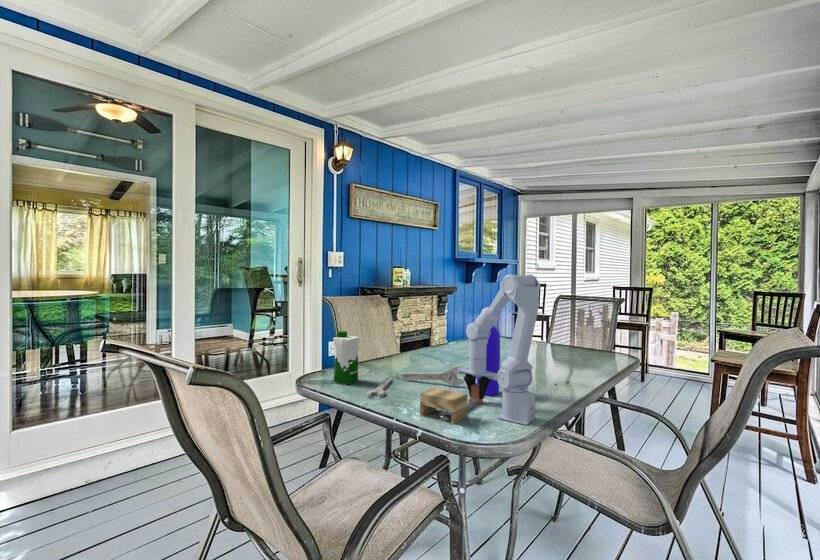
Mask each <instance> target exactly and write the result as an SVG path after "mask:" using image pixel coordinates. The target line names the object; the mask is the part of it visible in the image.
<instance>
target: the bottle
mask: <svg viewBox="0 0 820 560" xmlns="http://www.w3.org/2000/svg"><path fill="white" fill-rule="evenodd" d="M490 332H491V333H490V337H489V338H488V343H487V345H486V371H490V372H493V373H498V371H499V370H500V368H501V335H500V332H499V330H498V329H497V328H496V325H494V326H493V327H492V328H491V329H490ZM480 378H481V377H476V383H479V382H478V379H480ZM499 392H500V386H499V384H498V381H497V380H493V379H491V381H490V382H489V384H488V386H487V389H486V392H485V395H484V397H494V396H498V395H499Z"/></svg>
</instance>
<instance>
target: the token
mask: <svg viewBox="0 0 820 560" xmlns="http://www.w3.org/2000/svg"><path fill="white" fill-rule="evenodd" d="M438 420H439V421H441V422H444V423H447V422H448V423H451V412H450V411H442V412H440V413H439V414H438Z"/></svg>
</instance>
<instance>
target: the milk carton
mask: <svg viewBox="0 0 820 560" xmlns="http://www.w3.org/2000/svg"><path fill="white" fill-rule="evenodd" d="M360 338H361V337H360V336H355V335H348V331H346V330H340V331H339V330H338V331H337V332H336V336H335V337H333V338H332V340H333V344H334V373H333V383H334V382H337V383H336V384H340V383H344V384H343V385H347V384H349V385H351V384H350V383H352V384H353V382H354V383H356V382H358V381H359V343H360ZM357 380H358V381H357ZM355 381H356V382H355Z"/></svg>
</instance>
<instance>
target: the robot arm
mask: <svg viewBox="0 0 820 560" xmlns="http://www.w3.org/2000/svg"><path fill="white" fill-rule="evenodd" d="M499 288H500V289H499V290H498V292H497V294H496V295H495V297H494V299H493V300H492V303H491V304H490V305H489V306H486V307H484V308H482V309H481V312H480V314H478V317H477V318H476V319H475V320H474V321H473V322H470V323H468V324H467V326H466V329H465V334H466V337H467V339H468V340H469V350H468V351H469V356H468V357H469V359H468V360H469V361H468V362H469V363H468V367H467V368H466V367H463V368H458V371H457V375H465V376H464V377H463V381H464V383H465V384H466V386H467V389H468V393H469V397H470V398H471V385H472V384H474V383H476V382H477V377H481V378H480V379H478V382H479V390H480V391H479V398H480V399H483V400H484V399H485V396H484V395H485V392H486V389H487V386H488V384H489V382H490V381H491V379H493V380H497V381H498V384H499V388H500V389H501V390H502V393H501V413H500V414H499V415H498V416H496V418H497V419H498V420H503V421H509V422H511V423H517V424H521V425H524V426H525V425H526V426H527V425H529V424H530V423H531V422H532V421H533V420H535V419H536V416H535V415H536V395H535V393H533V392H532V391H528V389H529V387H530V385H531V384H532V382H533V365H532V363H530V362H529V361H528V358H529V356H530V355H529V354H530V350H531V346H532V342H533V341H532V340H533V335H534V331H535V326H536V322H537V317H538V313H539V306H540V300H539V293H540V288H541V284H540V282H539V279H537V277H536V276H535V275H534V274H510V273H509V274H506V275H504V277H503V279H502V281H501V282H500V284H499ZM510 301H512V302H513V303H514V304H515V305H516V306H517V308H518V311H517V316H516V320H515V323H514V324H515V325H514V330H513V334H512V335H513V336H512V339H511V345H510V350H509V355H508V357H507V358H506V359H505V360H504V361H502V363H501V364H500V370H499V371H498V373H493V372H490V371H486V345H487V343H488V338H489V337H490V333H491V332H490V329H491V328H492V327H493V326H495V324H496V323H497V322H498V320H499V319H500V315H499V313H501V311H502V310H503V309H504V308H505V306H506V305H507V304H508V303H509V302H510Z"/></svg>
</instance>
